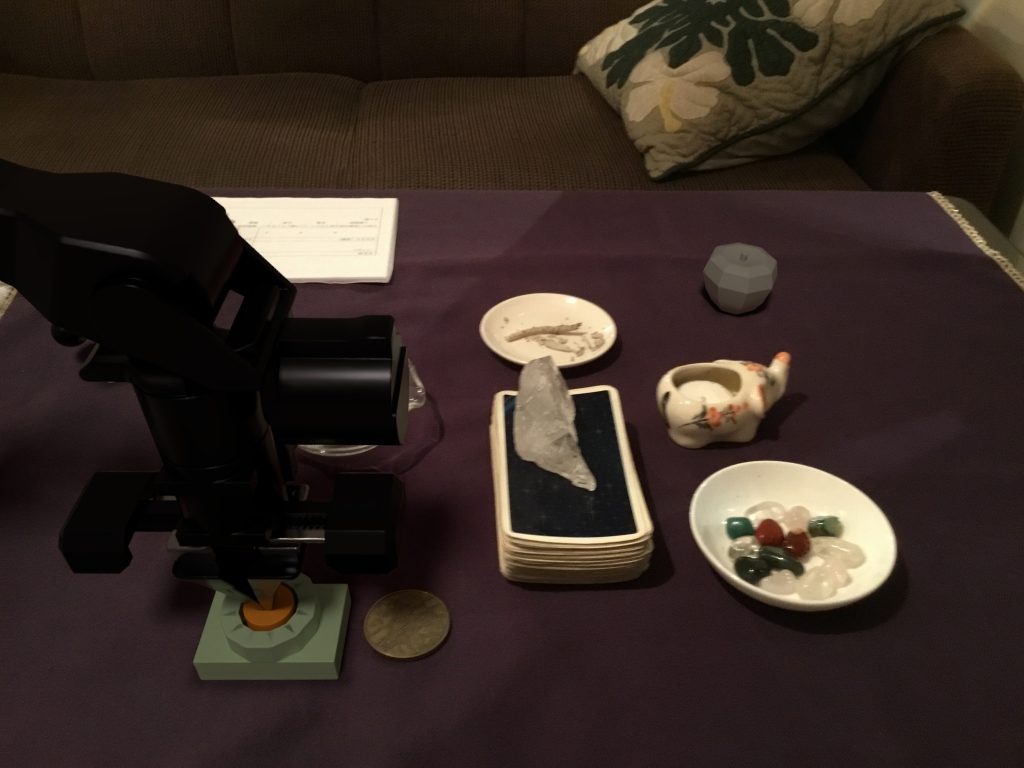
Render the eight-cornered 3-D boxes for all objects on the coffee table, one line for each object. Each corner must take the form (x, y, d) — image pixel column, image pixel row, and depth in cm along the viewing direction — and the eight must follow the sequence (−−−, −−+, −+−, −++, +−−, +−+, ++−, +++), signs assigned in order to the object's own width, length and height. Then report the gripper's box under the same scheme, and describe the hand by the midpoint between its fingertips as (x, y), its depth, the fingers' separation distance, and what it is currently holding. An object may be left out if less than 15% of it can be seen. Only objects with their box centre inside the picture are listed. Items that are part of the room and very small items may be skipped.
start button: (243, 640, 51) (237, 625, 50) (254, 599, 54) (249, 583, 53) (292, 640, 51) (288, 625, 50) (301, 598, 54) (297, 583, 53)
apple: (776, 327, 83) (791, 274, 79) (701, 324, 83) (712, 271, 79) (761, 286, 89) (774, 234, 85) (691, 283, 89) (701, 232, 85)
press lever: (70, 359, 74) (40, 338, 71) (71, 340, 76) (43, 319, 74) (159, 296, 73) (133, 273, 71) (158, 278, 75) (133, 255, 73)
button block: (200, 681, 52) (185, 647, 49) (225, 601, 56) (212, 567, 54) (338, 680, 52) (330, 647, 49) (351, 601, 56) (344, 567, 54)
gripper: (406, 339, 48) (421, 510, 58) (95, 336, 47) (164, 508, 57) (384, 473, 39) (406, 646, 49) (5, 471, 39) (105, 646, 49)
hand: (267, 603), depth 51 cm, fingers closed, pressing on start button
